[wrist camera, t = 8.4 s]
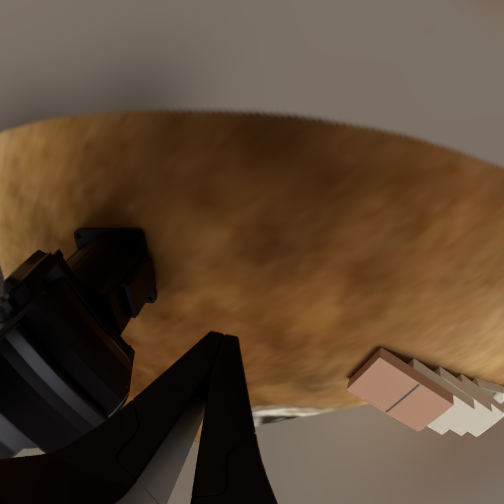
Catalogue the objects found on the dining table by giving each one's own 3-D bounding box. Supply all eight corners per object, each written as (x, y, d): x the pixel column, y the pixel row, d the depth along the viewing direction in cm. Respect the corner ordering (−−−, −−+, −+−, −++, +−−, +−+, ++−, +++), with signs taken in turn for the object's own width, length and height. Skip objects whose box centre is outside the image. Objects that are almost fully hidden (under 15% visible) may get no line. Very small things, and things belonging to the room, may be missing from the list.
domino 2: (380, 397, 26) (441, 434, 24) (413, 368, 24) (475, 409, 22) (382, 387, 28) (441, 424, 25) (413, 358, 25) (473, 399, 23)
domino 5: (450, 411, 28) (485, 416, 29) (479, 387, 25) (510, 395, 26) (447, 401, 29) (482, 408, 30) (475, 377, 27) (506, 387, 28)
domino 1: (346, 389, 26) (418, 431, 23) (379, 357, 23) (453, 405, 21) (349, 378, 27) (419, 420, 25) (381, 346, 25) (452, 393, 22)
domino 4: (431, 408, 27) (476, 437, 25) (462, 382, 25) (505, 414, 22) (431, 399, 28) (476, 428, 26) (461, 373, 26) (503, 406, 24)
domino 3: (408, 403, 27) (461, 435, 24) (440, 375, 24) (492, 412, 22) (409, 393, 28) (460, 426, 26) (439, 366, 26) (490, 402, 23)
